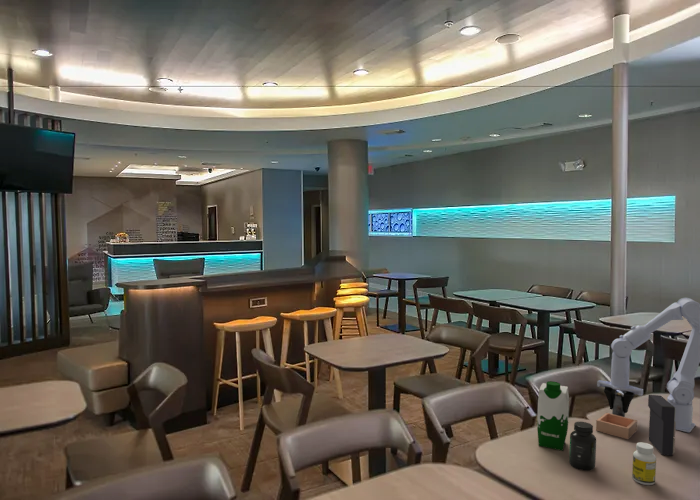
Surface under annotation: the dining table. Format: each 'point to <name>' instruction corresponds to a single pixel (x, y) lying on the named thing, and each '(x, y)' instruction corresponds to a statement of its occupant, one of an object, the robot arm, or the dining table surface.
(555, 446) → the milk carton
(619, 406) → the pepper mill
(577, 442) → the supplement bottle
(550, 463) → the dining table surface
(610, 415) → the tray
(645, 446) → the supplement bottle
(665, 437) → the black box
